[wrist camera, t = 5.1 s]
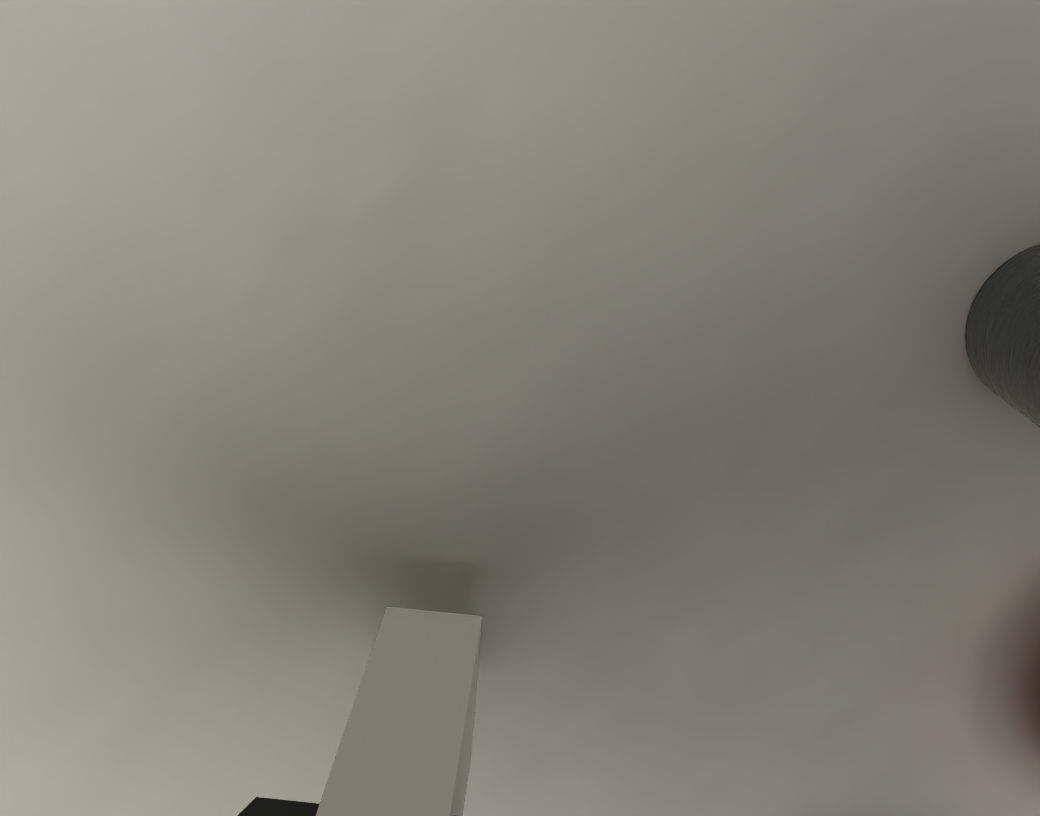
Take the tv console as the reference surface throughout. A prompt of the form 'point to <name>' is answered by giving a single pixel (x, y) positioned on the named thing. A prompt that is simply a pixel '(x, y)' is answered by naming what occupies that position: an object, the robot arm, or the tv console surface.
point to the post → (1009, 333)
